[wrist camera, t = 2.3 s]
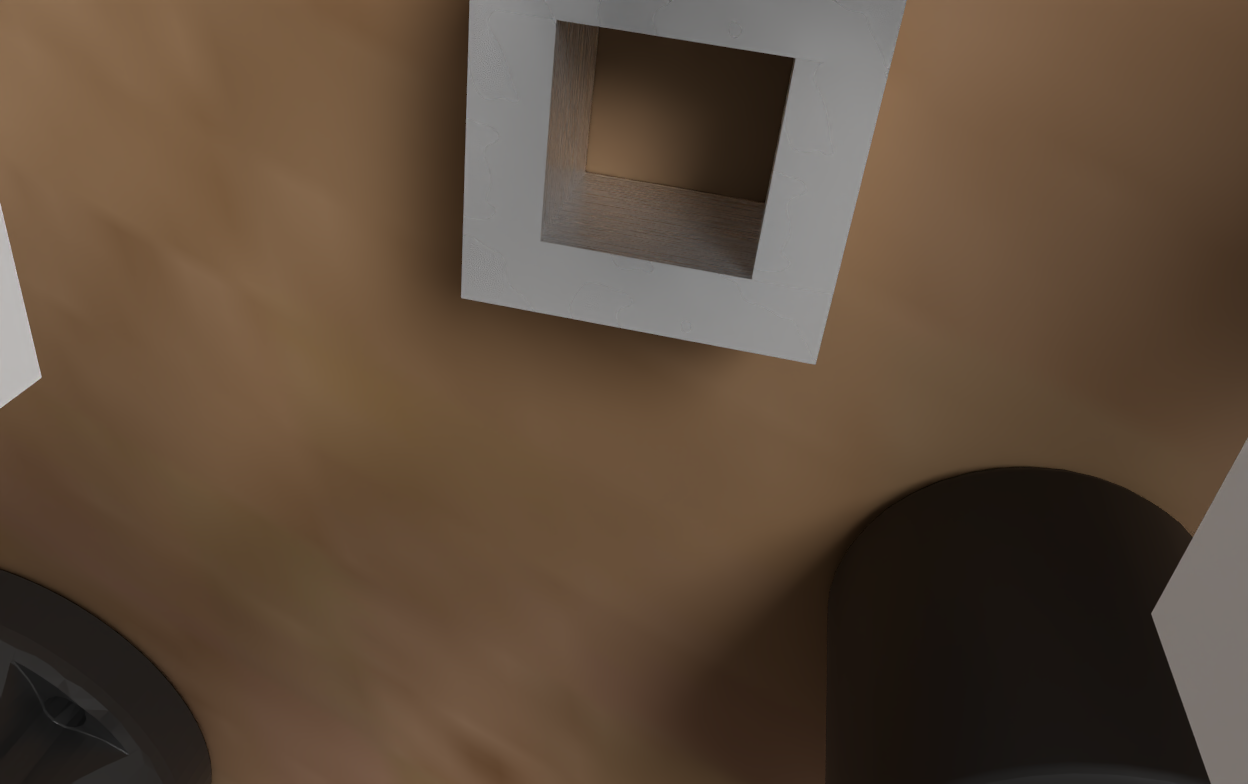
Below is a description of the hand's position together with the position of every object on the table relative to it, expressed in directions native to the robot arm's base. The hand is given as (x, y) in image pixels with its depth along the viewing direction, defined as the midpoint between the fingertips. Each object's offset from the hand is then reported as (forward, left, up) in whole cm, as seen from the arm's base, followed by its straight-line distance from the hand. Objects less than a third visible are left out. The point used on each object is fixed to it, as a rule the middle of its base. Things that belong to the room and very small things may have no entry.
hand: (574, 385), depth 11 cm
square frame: (0, 0, -12) cm, 12 cm away
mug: (+10, -13, -12) cm, 20 cm away
